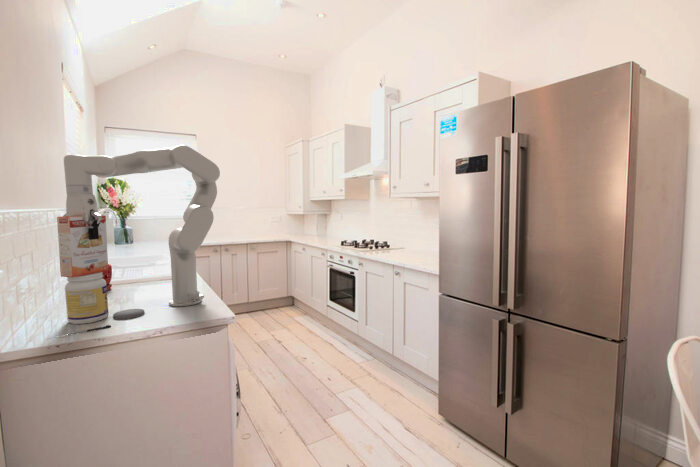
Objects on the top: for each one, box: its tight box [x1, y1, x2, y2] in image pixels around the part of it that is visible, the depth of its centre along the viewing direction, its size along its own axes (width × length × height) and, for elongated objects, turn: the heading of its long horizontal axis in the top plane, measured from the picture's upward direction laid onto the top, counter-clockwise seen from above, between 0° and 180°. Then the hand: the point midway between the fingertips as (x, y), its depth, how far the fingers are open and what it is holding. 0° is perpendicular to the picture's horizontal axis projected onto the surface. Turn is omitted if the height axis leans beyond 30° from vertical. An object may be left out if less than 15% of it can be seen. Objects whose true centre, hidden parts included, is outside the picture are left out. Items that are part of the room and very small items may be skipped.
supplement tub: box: [64, 272, 109, 325], centre depth 131 cm, size 12×12×17 cm
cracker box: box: [56, 214, 109, 278], centre depth 130 cm, size 14×6×21 cm, turn 167°
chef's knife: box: [67, 324, 112, 336], centre depth 119 cm, size 19×1×3 cm
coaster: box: [112, 308, 145, 321], centre depth 137 cm, size 10×10×1 cm
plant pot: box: [102, 263, 113, 291], centre depth 175 cm, size 13×13×12 cm
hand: (83, 239), depth 130 cm, fingers open, 9 cm apart
